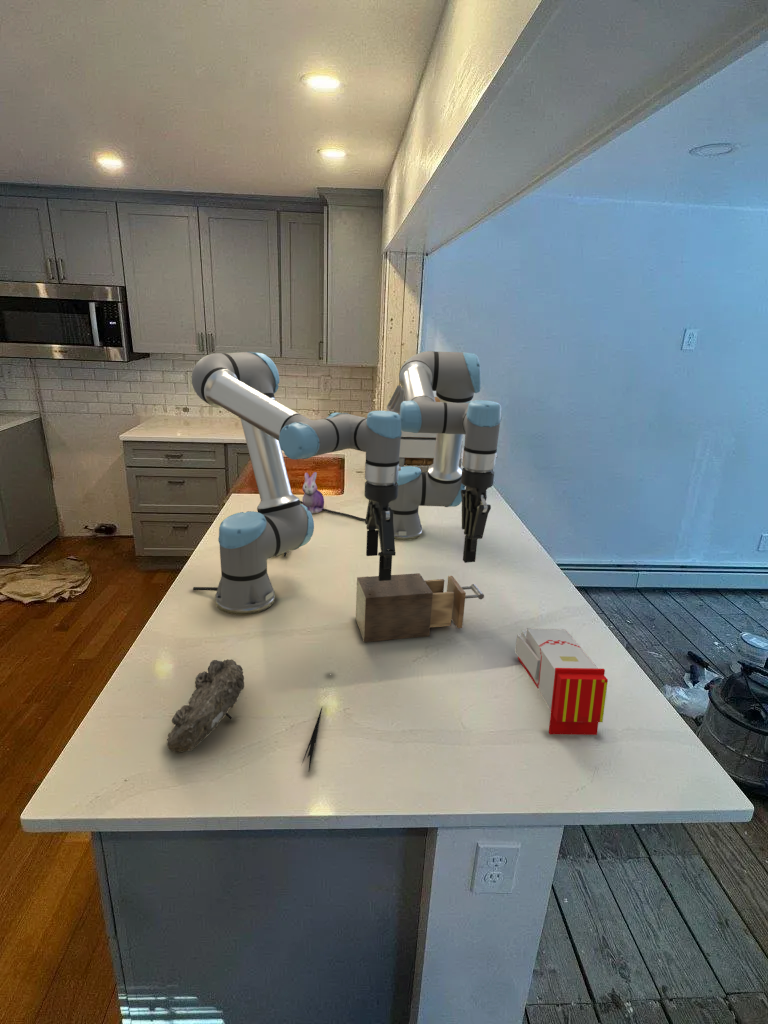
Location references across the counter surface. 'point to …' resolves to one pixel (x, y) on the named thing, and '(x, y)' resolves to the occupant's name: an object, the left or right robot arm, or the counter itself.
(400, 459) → the transformer
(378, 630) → the cabinet
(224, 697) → the fossil
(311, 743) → the feather
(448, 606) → the drawer
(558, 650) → the toy
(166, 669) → the counter surface
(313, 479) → the figurine
